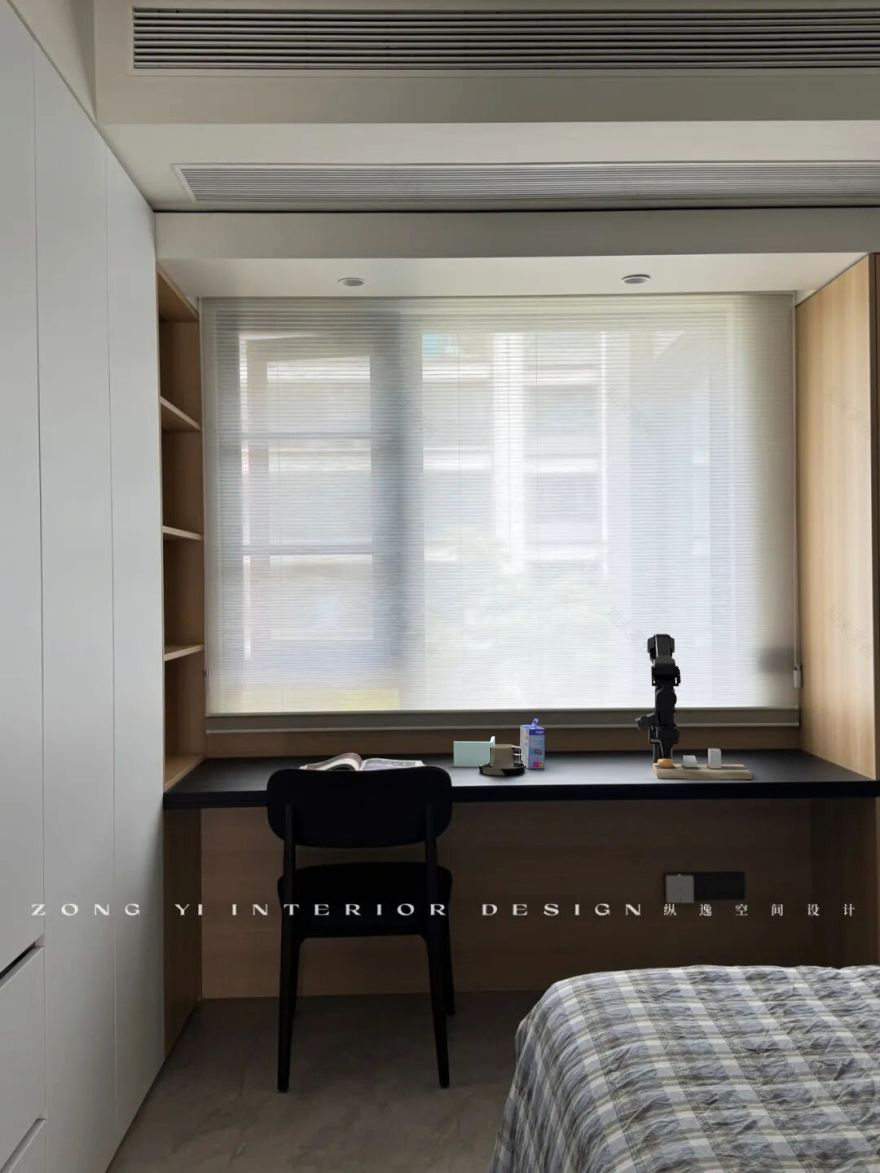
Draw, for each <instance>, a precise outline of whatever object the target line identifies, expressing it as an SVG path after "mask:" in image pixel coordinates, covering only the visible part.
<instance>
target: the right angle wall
mask: <svg viewBox="0 0 880 1173" xmlns="http://www.w3.org/2000/svg"><path fill="white" fill-rule="evenodd" d="M493 745H495V746H496V736H491V738H490V741H455V740H454V741H453V767H465V768H466V767H476V768H479V766H480V765H481V764H488V763H489V762H490V747H491V746H493Z"/></svg>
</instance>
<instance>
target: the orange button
mask: <svg viewBox="0 0 880 1173" xmlns="http://www.w3.org/2000/svg"><path fill="white" fill-rule="evenodd" d="M673 762H674V759H673V758H672V759H658V767H664V768H669V767H673Z"/></svg>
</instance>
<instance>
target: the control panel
mask: <svg viewBox="0 0 880 1173" xmlns="http://www.w3.org/2000/svg"><path fill="white" fill-rule="evenodd" d="M653 770H654V771H653ZM652 771H653V772H655V773H654V774H656V775H655V776H657V777H656V779H657V778H688V779H687V780H718V779H752V780H753V778H752V776H753V775H752V772H751V771H750V770H749V768H748V767H747V766H746V765H744V764H743V763H721V768H710V767H709V766H708V763H697V767H686V766H685V764H684V762H682V763H681V762H679V763H678V762H677V763H676V762H674V763H673V767H669V768H664V767H658V763H652Z"/></svg>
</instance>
